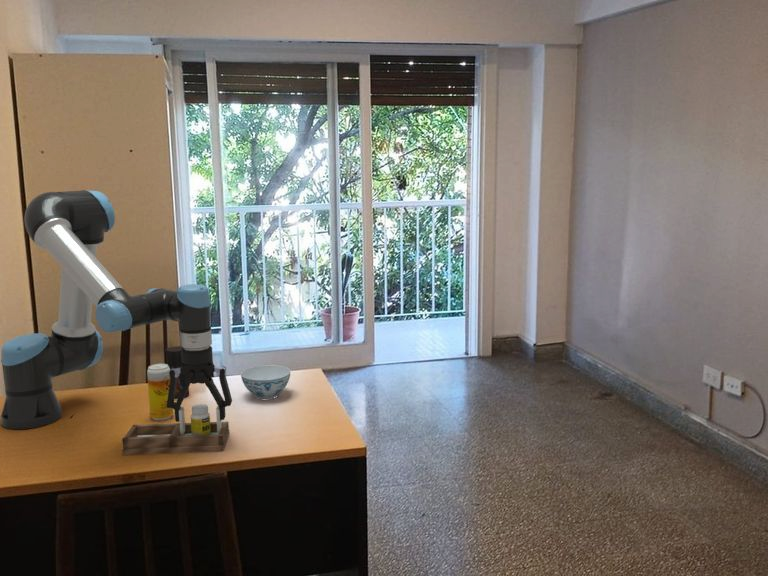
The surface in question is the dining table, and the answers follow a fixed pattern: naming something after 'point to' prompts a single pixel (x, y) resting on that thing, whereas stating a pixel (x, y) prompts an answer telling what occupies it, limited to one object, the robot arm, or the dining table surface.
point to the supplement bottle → (200, 420)
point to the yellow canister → (159, 391)
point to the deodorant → (176, 362)
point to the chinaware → (266, 380)
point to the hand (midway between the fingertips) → (201, 432)
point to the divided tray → (172, 439)
